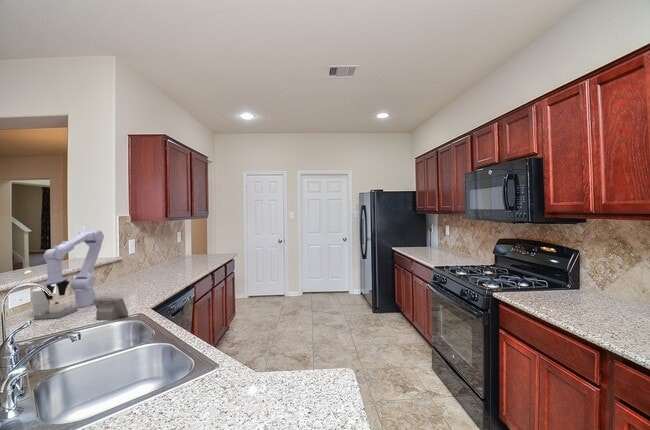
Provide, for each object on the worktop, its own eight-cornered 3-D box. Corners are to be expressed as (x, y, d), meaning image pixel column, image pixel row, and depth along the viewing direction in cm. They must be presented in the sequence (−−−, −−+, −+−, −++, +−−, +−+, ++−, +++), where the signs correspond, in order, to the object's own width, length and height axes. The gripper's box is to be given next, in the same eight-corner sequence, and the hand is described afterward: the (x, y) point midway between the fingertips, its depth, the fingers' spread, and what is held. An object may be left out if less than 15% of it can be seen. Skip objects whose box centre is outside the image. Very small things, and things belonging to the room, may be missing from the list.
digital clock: (130, 315, 151) (129, 295, 151) (112, 322, 142) (111, 300, 142) (108, 313, 156) (107, 293, 156) (90, 319, 148) (89, 298, 148)
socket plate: (54, 311, 161) (54, 307, 161) (77, 310, 162) (77, 306, 162) (34, 319, 149) (33, 314, 149) (59, 318, 150) (58, 313, 150)
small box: (49, 313, 158) (48, 289, 158) (32, 316, 154) (31, 291, 154) (50, 309, 165) (49, 286, 164) (34, 312, 161) (33, 288, 160)
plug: (55, 313, 157) (55, 300, 157) (64, 312, 157) (64, 300, 157) (49, 315, 153) (48, 303, 153) (58, 315, 153) (58, 302, 153)
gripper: (51, 274, 148) (52, 301, 148) (73, 268, 162) (74, 293, 163) (36, 274, 147) (37, 301, 148) (60, 269, 162) (61, 293, 162)
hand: (55, 297), depth 155 cm, fingers open, 7 cm apart
